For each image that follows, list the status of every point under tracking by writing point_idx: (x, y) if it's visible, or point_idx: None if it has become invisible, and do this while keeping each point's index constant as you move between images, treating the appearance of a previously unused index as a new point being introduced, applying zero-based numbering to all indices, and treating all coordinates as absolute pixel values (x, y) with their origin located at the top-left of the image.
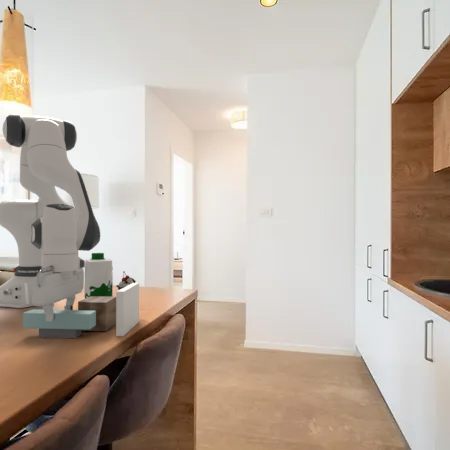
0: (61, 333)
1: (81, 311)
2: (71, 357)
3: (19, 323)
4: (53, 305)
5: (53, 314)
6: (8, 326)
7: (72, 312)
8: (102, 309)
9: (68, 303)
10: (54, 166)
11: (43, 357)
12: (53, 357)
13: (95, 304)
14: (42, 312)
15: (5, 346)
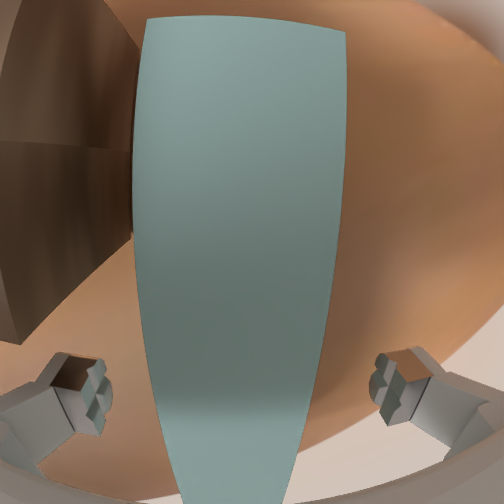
0: None
1: (199, 182)
2: (486, 122)
3: (104, 482)
4: (486, 418)
5: (433, 371)
6: (142, 494)
7: (260, 281)
8: (74, 3)
9: (53, 426)
10: None
11: (484, 226)
12: (487, 189)
13: (24, 60)
14: (264, 482)
15: (359, 419)
